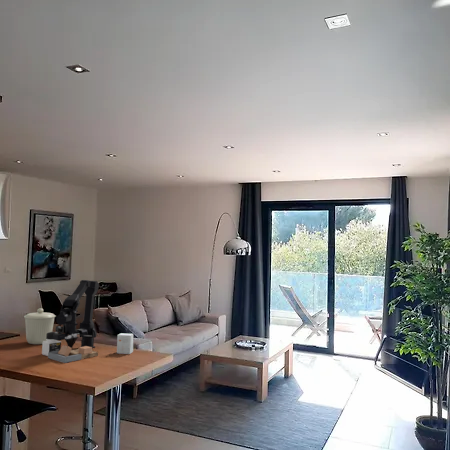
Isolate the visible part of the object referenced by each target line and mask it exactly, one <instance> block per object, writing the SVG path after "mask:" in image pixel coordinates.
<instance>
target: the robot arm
mask: <svg viewBox="0 0 450 450" xmlns="http://www.w3.org/2000/svg"><path fill="white" fill-rule="evenodd" d="M99 287H100V284H99V282H98V281H97V280H90V279H89V280H88V279H81V280H80V282H79V284H78V285H77V287H76V289H75V290H74V291H73V292H72V294H70V295H69V296H67V297H66V298H65V299H64V301H63V302H62V304H61V305H62V306H61V308H60V310H59V314H58V315H56V317H55V320H56V324H58V325H57V326H55V332H57V333H56V334H53V336H52V339H54V340H57V341H65V342H66V344H67V345H66V346H69V347H71V348H72V349H73V347H74V344H75V343H76V341H77V340H78V339H79V338H81V343H80V346H79V347H84V346H88V347H92V349H94V348H96V346H95V345H94V344H95V343H94V341H95V338H96V337H97V334H98V333H97V330H96V328H95V323H94V321H93V316H94V315H93V314H94V305H95V296H96V295H97V293H98V292H99ZM84 294H85V302H84V303H85V304H84V314H83V320H82V321H81V322H80V323H79V328H77V326H78V322H77V313H78V308H79V306H80V303H81V302H80V300H81V298H82V297H83V295H84ZM78 335H79V336H78Z"/></svg>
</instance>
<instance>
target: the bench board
mask: <svg viewBox="0 0 450 450" xmlns="http://www.w3.org/2000/svg"><path fill="white" fill-rule="evenodd" d="M77 354H80V353H79V348H78V349H72V350H71V352H70V353H69V355H68V356H72V355H77ZM94 356H95V357H98V356H99V352H98V351H94V350H92V353H89V354H82V355H81V360H83V359H84V358H85V359H90V358H95V357H94ZM89 357H90V358H89Z"/></svg>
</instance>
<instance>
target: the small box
mask: <svg viewBox="0 0 450 450" xmlns="http://www.w3.org/2000/svg"><path fill="white" fill-rule="evenodd" d="M132 353H134V333H122V332H121V333H119V334H117V339H116V354H123V355H124V354H125V355H131V354H132Z"/></svg>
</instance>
